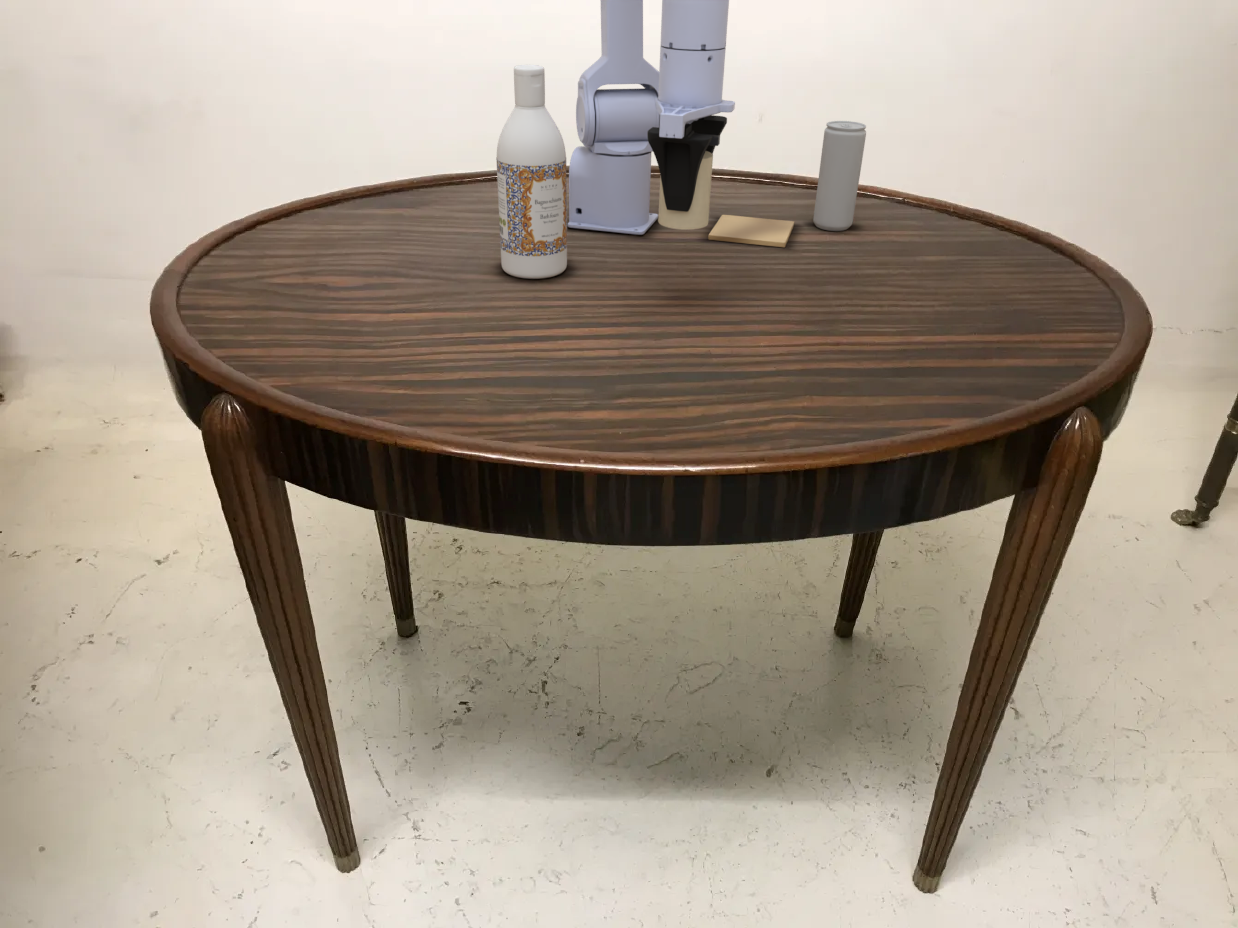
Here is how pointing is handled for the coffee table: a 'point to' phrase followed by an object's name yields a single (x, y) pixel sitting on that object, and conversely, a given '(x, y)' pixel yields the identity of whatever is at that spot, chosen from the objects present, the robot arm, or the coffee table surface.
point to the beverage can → (839, 175)
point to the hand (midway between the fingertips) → (684, 202)
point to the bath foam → (532, 183)
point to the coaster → (752, 230)
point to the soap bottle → (701, 200)
